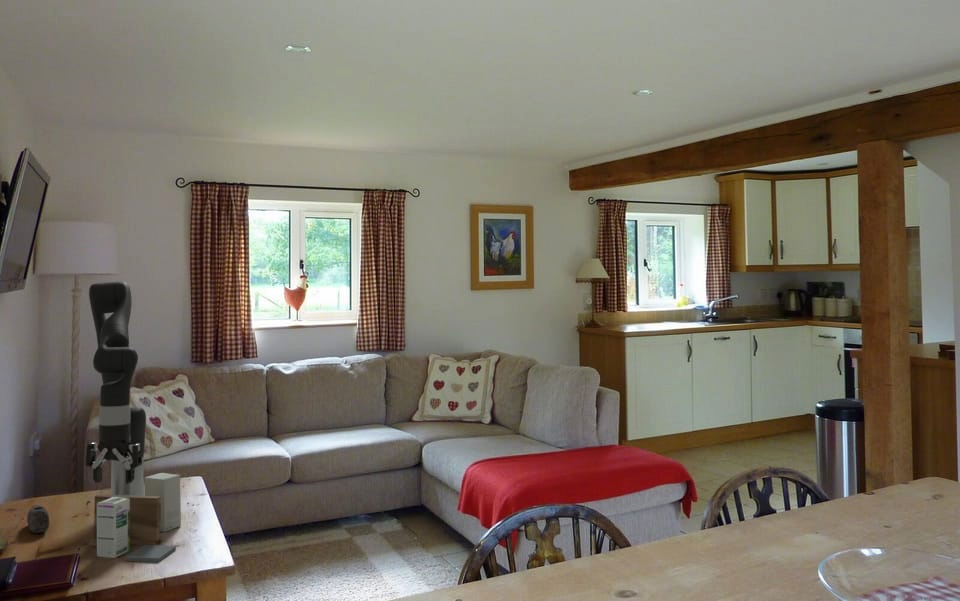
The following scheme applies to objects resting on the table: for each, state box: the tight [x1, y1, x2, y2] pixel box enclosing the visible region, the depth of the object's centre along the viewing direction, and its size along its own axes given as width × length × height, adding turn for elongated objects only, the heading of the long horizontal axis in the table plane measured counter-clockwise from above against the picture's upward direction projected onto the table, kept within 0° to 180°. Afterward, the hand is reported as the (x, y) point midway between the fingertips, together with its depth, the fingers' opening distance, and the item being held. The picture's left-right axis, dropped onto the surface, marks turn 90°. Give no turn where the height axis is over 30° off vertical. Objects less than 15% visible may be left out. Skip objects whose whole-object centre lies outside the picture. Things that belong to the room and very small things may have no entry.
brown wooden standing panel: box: [89, 493, 165, 547], centre depth 197 cm, size 6×18×13 cm, turn 86°
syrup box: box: [96, 497, 131, 559], centre depth 189 cm, size 6×6×14 cm
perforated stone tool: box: [26, 504, 51, 534], centre depth 208 cm, size 15×5×7 cm, turn 36°
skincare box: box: [143, 472, 182, 533], centre depth 211 cm, size 8×7×16 cm
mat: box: [124, 545, 177, 563], centre depth 188 cm, size 9×9×1 cm
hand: (113, 482), depth 189 cm, fingers open, 8 cm apart
